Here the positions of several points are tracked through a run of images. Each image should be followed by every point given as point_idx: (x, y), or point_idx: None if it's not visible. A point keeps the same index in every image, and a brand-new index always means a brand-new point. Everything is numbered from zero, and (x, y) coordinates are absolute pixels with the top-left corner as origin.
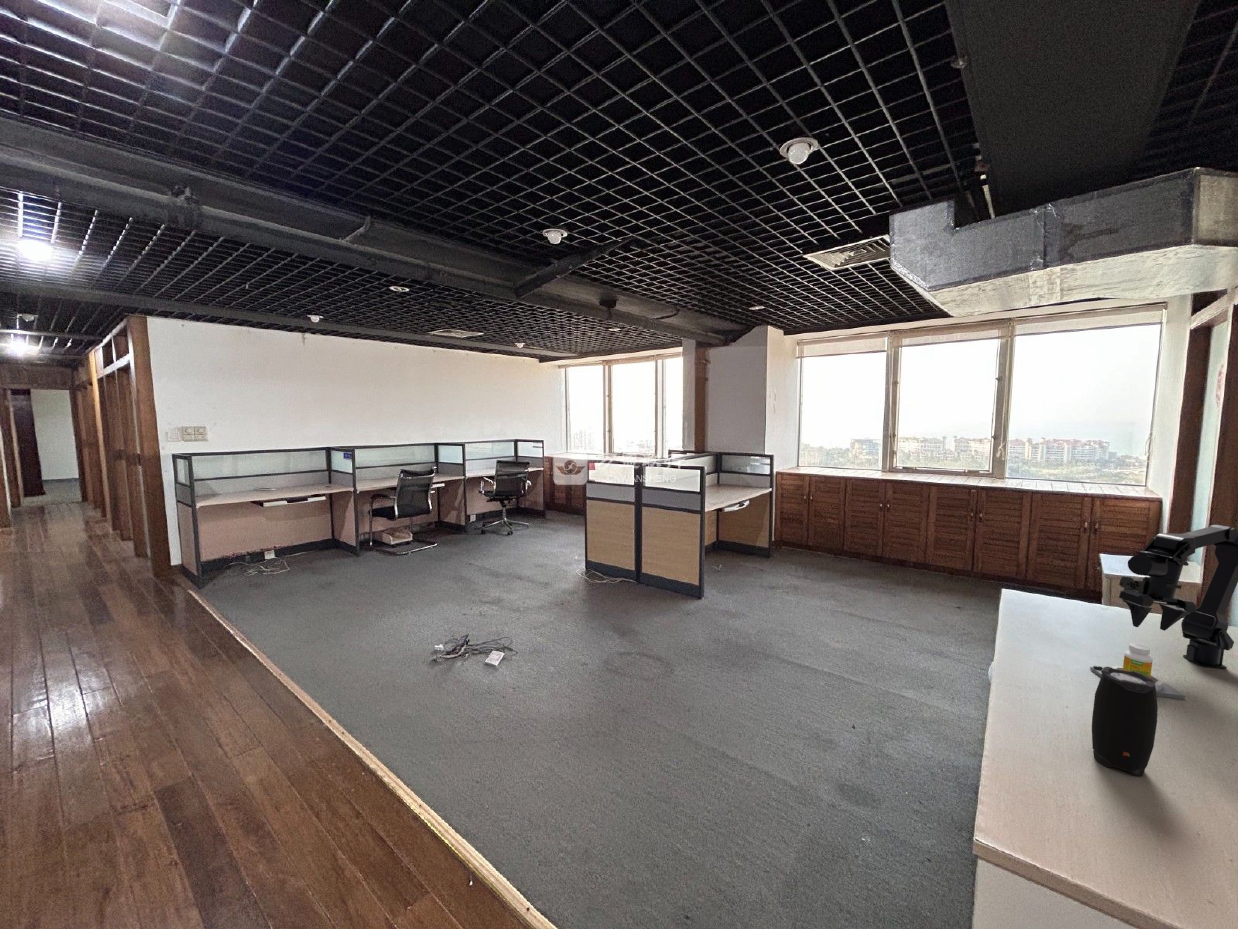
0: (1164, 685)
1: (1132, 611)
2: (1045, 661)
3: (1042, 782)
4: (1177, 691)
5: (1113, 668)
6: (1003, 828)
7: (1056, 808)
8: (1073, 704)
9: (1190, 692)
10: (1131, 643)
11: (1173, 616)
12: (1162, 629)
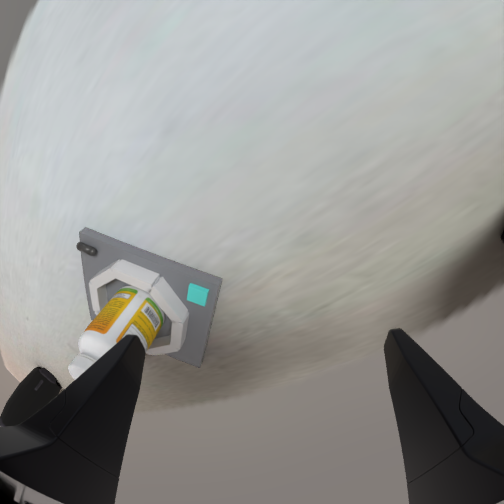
0: (193, 337)
1: (55, 416)
2: (25, 181)
3: (16, 362)
4: (199, 356)
5: (2, 426)
6: (8, 367)
7: (21, 373)
8: (33, 317)
9: (253, 348)
10: (75, 367)
11: (416, 473)
12: (385, 344)
